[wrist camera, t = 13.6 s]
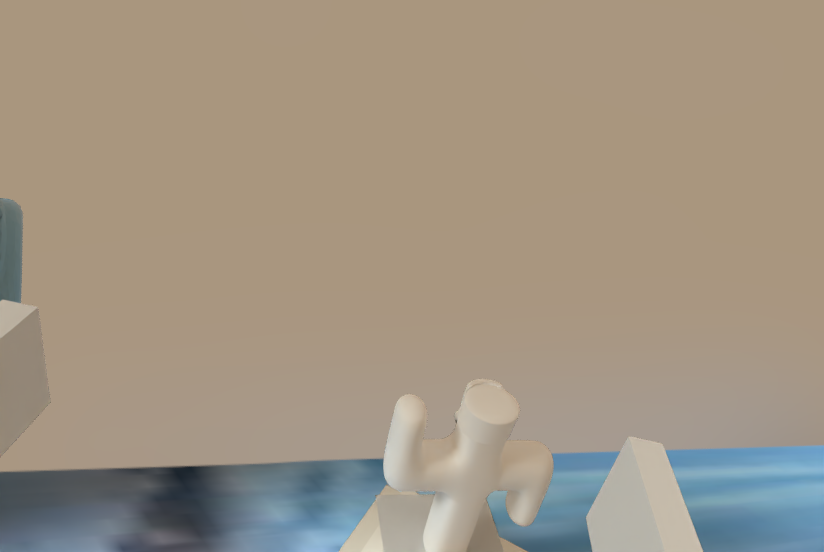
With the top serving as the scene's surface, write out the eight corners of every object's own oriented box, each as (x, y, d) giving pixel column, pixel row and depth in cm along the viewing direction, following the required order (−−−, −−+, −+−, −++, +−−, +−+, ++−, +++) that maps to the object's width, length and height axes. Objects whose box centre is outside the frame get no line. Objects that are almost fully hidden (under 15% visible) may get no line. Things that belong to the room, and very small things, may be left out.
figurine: (521, 638, 35) (610, 452, 28) (360, 649, 33) (412, 450, 25) (486, 530, 41) (552, 355, 34) (349, 534, 39) (389, 347, 32)
